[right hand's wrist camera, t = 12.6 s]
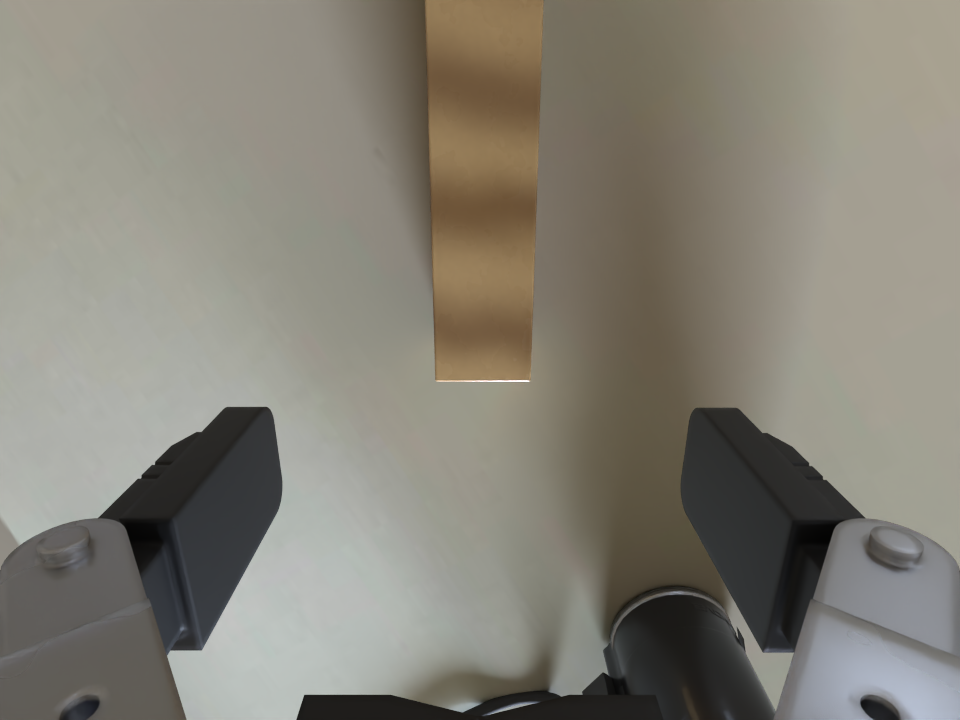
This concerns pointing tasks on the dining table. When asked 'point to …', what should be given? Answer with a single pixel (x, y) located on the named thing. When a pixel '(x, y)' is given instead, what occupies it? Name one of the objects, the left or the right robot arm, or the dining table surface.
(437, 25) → the bar
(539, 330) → the dining table surface
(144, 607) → the right robot arm
